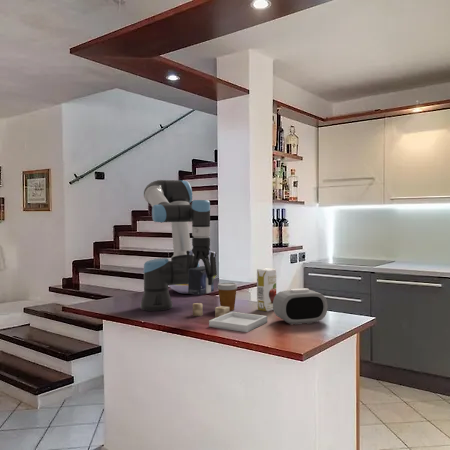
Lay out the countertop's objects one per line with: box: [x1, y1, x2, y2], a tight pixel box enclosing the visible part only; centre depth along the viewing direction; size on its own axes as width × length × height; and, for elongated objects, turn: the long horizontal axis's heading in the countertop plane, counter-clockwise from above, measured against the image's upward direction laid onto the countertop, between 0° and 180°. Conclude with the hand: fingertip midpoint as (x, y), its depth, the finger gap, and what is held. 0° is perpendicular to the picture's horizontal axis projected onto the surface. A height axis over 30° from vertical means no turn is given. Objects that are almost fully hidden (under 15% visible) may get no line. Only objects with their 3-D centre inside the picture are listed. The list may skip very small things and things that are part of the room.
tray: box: [208, 311, 268, 333], centre depth 179 cm, size 17×18×2 cm
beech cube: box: [214, 305, 231, 318], centre depth 191 cm, size 4×4×4 cm
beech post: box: [192, 302, 204, 317], centre depth 196 cm, size 4×4×5 cm
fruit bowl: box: [168, 276, 216, 295], centre depth 254 cm, size 28×27×11 cm
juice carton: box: [256, 267, 277, 312], centre depth 206 cm, size 8×9×19 cm
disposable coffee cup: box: [217, 282, 238, 312], centre depth 206 cm, size 10×10×12 cm
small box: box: [187, 265, 215, 296], centre depth 184 cm, size 11×6×10 cm, turn 148°
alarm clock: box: [272, 287, 329, 326], centre depth 182 cm, size 21×10×13 cm, turn 106°
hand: (201, 291), depth 185 cm, fingers closed on small box, 6 cm apart
